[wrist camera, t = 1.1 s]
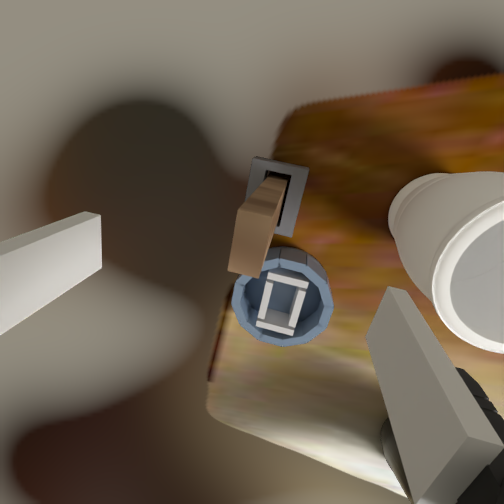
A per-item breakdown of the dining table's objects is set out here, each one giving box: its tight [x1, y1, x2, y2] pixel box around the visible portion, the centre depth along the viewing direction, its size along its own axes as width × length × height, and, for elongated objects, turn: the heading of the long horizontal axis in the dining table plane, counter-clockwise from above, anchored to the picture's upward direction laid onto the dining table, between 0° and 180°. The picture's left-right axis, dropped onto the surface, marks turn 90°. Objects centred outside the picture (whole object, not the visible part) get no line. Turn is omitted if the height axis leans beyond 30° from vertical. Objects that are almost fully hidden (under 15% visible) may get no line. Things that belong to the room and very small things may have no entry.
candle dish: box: [231, 246, 334, 347], centre depth 34 cm, size 11×11×4 cm
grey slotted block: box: [245, 156, 309, 237], centre depth 31 cm, size 7×6×2 cm
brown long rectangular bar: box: [227, 174, 288, 279], centre depth 24 cm, size 4×2×16 cm, turn 169°
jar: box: [388, 172, 504, 354], centre depth 23 cm, size 11×10×15 cm
